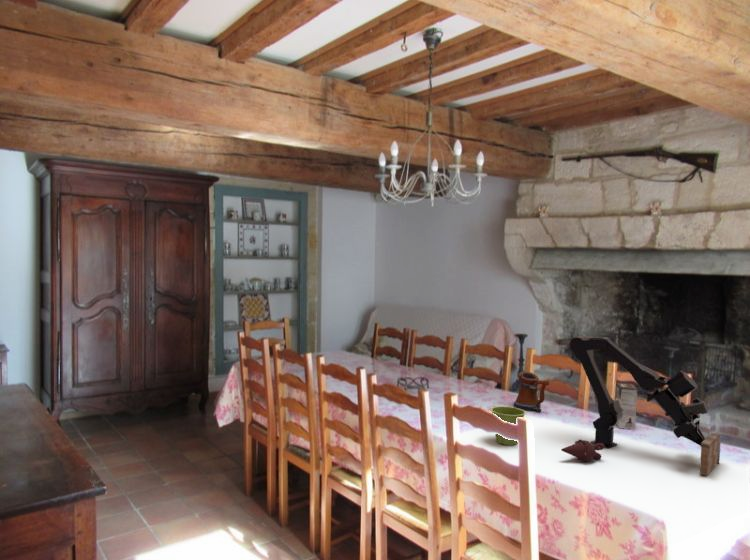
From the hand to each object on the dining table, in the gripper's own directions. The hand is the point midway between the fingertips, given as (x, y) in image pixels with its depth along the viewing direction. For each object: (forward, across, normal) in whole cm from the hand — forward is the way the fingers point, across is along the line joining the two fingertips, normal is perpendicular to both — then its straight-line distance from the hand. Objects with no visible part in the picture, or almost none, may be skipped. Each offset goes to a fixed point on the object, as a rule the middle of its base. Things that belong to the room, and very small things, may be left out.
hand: (706, 446), depth 178 cm
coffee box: (-16, +31, +26) cm, 43 cm away
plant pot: (-35, -19, +47) cm, 62 cm away
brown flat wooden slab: (+5, -2, +4) cm, 7 cm away
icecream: (-18, -20, +29) cm, 39 cm away
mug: (-41, +29, +52) cm, 73 cm away
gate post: (+6, +7, +3) cm, 10 cm away
